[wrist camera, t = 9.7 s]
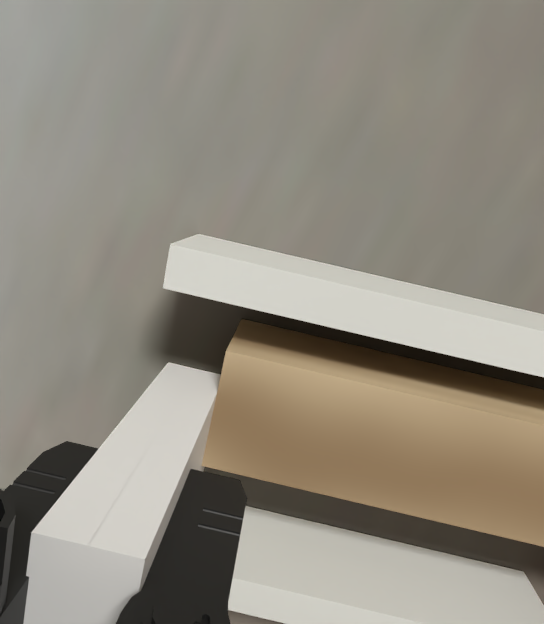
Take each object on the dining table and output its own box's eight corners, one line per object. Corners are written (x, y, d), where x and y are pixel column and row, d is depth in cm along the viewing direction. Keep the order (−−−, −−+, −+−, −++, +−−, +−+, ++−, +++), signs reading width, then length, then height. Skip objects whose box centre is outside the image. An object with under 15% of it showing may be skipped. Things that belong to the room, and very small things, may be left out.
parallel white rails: (198, 233, 14) (170, 244, 11) (623, 332, 13) (711, 370, 11) (146, 510, 16) (111, 582, 13) (512, 597, 16) (561, 688, 13)
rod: (241, 318, 14) (225, 350, 11) (719, 430, 14) (829, 492, 11) (221, 412, 15) (201, 465, 12) (675, 519, 15) (768, 600, 12)
